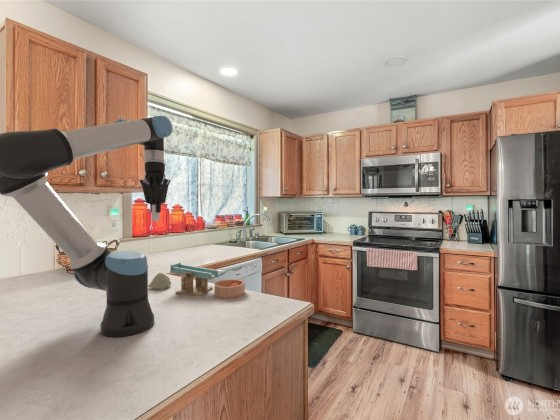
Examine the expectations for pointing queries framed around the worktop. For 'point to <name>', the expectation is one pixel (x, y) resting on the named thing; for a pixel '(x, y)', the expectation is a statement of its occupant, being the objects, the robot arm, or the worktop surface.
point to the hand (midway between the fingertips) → (155, 220)
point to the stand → (191, 289)
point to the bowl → (229, 288)
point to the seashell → (160, 281)
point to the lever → (196, 271)
